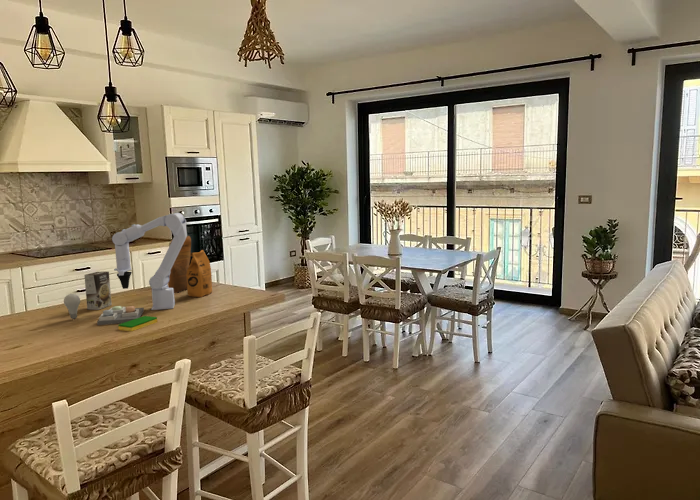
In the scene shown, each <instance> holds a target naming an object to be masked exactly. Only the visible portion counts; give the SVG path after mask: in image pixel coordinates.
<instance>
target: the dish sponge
mask: <svg viewBox="0 0 700 500" xmlns="http://www.w3.org/2000/svg"><path fill="white" fill-rule="evenodd" d="M157 323H158V317H156V316H149V315H143V316H141V317H140V318H137V319H134V320H131V321H128V322H125V323H119V324H118V325H117V326H118V330H119V331H125V332H126V331H127V332H134V331H136V330H139V329H140V330H141V329H142V328H146V327H148V326H150V325H153V324H157Z"/></svg>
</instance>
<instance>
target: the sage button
mask: <svg viewBox="0 0 700 500" xmlns="http://www.w3.org/2000/svg"><path fill="white" fill-rule="evenodd" d="M121 307H122V305H116V306H112V307H111V308H112V310H121V309H122V308H121Z"/></svg>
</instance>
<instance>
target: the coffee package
mask: <svg viewBox="0 0 700 500" xmlns="http://www.w3.org/2000/svg"><path fill="white" fill-rule="evenodd" d="M190 255H191V257H192V258H191V259H190V263H189V267H188V270H187V275H186V277H187V290H186V291H187V292H186V293H187V295H188V297H194V298H203V297H205V296H209V295H210V294H212V293H213V285H212V284H213V282H212V281H213V280H212V279H213V277H212V276H213V275H212V267H211V262H210V260H209V258H208V256H207V255H206V253H205V251H204V249H201V250H200V251H199V252H191V254H190Z"/></svg>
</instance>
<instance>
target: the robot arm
mask: <svg viewBox="0 0 700 500" xmlns="http://www.w3.org/2000/svg"><path fill="white" fill-rule="evenodd" d="M160 226H161V227H167V228H168V229H169V230H170V232H171V233H172V235H173V238H172V239H171V240H172V242H171V241H170V242H171V244H170V246H169V245H168V248H167V251H166V253H165V255H164V256H163V259H162V260H161V263H160V265H159V267H158V268H157V270H156V271H155V273H154V274H153V275H152V276H151V277H150V278H149V280H148V284H149V286H150V288H151V298H152V300H151V301H152V306H151V309H150V310H151V311H155V310H157V311H158V310H167V309H168V310H169V309H174V307H175V304H176V300H175V293H174V289H173V288H169V286H168V282H169V276H170V273H171V268H172V266H173V264H174V262H175V260H176V258H177V256H178V254H179V252H180V250H181V248H182V246H183V244H184V241H185V239H186V237H187V236H188V233H187V232H188V231H187V220H186V218H185V216H184V215H183V214H182V213H180V212H174V213H168V214H167V215H166V214H165V215H162V216H158V217H157V218H155V219H153V220H151V221H148V222H145V223H144V224H131V226H130V227H128V228H124V229H122V230H121V231H120V232H119V231H117V232H115V234H113V235H112V237H111V239H112V240H111V241H112V243H113V244H114V250H115V260H116V261H115V262H116V268H114V269H113V270H114V272H117V273H116V276H117V278H118V280H119V282H120V284H121V288H122V289H125V290H126V289H129V286H130V279H131V276H132V273H133V272H132V267H131V255H130V252H131V251H130V245H129V244H130V242H133V241H135V240H138V239H139V238H143V237H144V236H145V234H146V232H148V231H150V230H153V229H155V228H158V227H160Z"/></svg>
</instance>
